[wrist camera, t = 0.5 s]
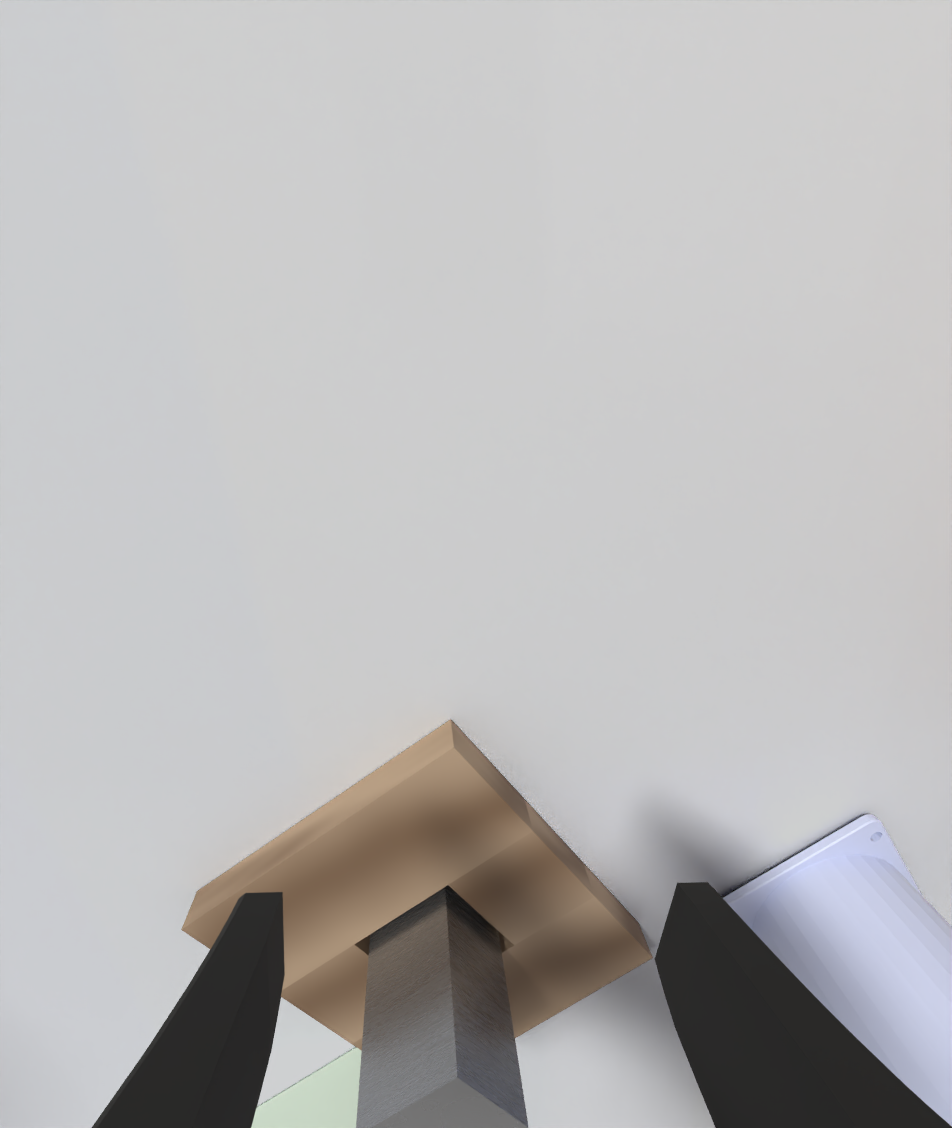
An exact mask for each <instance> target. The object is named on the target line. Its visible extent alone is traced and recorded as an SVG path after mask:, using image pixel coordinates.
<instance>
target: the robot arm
mask: <svg viewBox="0 0 952 1128" xmlns="http://www.w3.org/2000/svg"><path fill="white" fill-rule="evenodd" d="M655 961H656V965H657V968H658V972H659V975H660V979H661V982H662V986H663V990H664V993H665V996H666V1000H667V1003H668V1006H669V1009H670V1012H671V1016H672V1019H673V1022H674V1025H675V1028H676V1031H677V1033H678V1036H679V1038H680V1041H681V1043H682V1046H683V1048H684V1051H685V1053H686V1056H687V1058H688V1061H689V1063H690V1066H691V1068H692V1071H693V1073H694V1076H695V1078H696V1081H697V1083H698V1086H699V1088H700V1091H701V1093H702V1095H703V1098H704V1100H705V1103H706V1105H707V1108H708V1110H709V1113H710V1115H711V1117H712V1120H713V1122H714V1125H715V1127H716V1128H952V926H951V925H950V924H949V923H948V922H947V921H946V920H945V919H944V918H943V917H942V916H941V915H940V914H939V913H938V912H937V911H936V909H935V908H934V907H933V906H932V905H931V904H930V903H929V902H928V901H927V900H926V899H925V898H924V897H923V895H922V893H921V892H920V890H919V888H918V886H917V884H916V883H915V881H914V879H913V877H912V876H911V874H910V872H909V870H908V868H907V867H906V865H905V863H904V861H903V859H902V858H901V856H900V854H899V852H898V850H897V849H896V847H895V845H894V843H893V841H892V840H891V838H890V836H889V834H888V832H887V831H886V829H885V827H884V825H883V823H882V822H881V821H880V820H879V819H878V818H877V817H876V816H875V815H872V814H867V815H863V816H861V817H859V818H858V819H856V820H854V821H853V822H851V823H849V824H848V825H846V826H844V827H842V828H841V829H839V830H837V831H836V832H834V833H832V834H831V835H829V836H827V837H825V838H824V839H822V840H820V841H819V842H817V843H815V844H814V845H812V846H810V847H808V848H807V849H805V850H803V851H802V852H800V853H798V854H797V855H795V856H793V857H791V858H790V859H788V860H786V861H785V862H783V863H781V864H780V865H778V866H776V867H774V868H773V869H771V870H769V871H768V872H766V873H764V874H763V875H761V876H759V877H757V878H756V879H754V880H752V881H751V882H749V883H747V884H746V885H744V886H742V887H740V888H739V889H737V890H735V891H734V892H732V893H730V894H729V895H727V896H725V897H723V898H722V897H721V896H720V895H719V894H718V893H717V892H716V891H715V890H714V889H713V888H712V887H711V885H710V884H709V883H708V882H701V883H677V886H676V889H675V893H674V896H673V900H672V903H671V906H670V910H669V913H668V916H667V920H666V923H665V927H664V930H663V933H662V937H661V940H660V943H659V947H658V950H657V953H656V957H655ZM284 976H285V967H284V927H283V892H261V893H245V894H244V895H242V896H241V897H240V898H239V899H238V901H237V903H236V905H235V906H234V908H233V910H232V912H231V914H230V916H229V918H228V920H227V921H226V923H225V925H224V927H223V929H222V930H221V932H220V934H219V936H218V937H217V939H216V941H215V943H214V944H213V946H212V948H211V949H210V951H209V953H208V954H207V956H206V958H205V959H204V961H203V963H202V964H201V966H200V968H199V969H198V971H197V972H196V974H195V976H194V977H193V979H192V981H191V982H190V984H189V985H188V987H187V989H186V990H185V992H184V993H183V995H182V996H181V998H180V999H179V1001H178V1002H177V1004H176V1006H175V1007H174V1009H173V1010H172V1012H171V1013H170V1015H169V1016H168V1018H167V1019H166V1021H165V1022H164V1024H163V1026H162V1027H161V1029H160V1030H159V1032H158V1033H157V1035H156V1036H155V1038H154V1039H153V1041H152V1042H151V1044H150V1045H149V1047H148V1048H147V1050H146V1051H145V1053H144V1054H143V1056H142V1057H141V1059H140V1060H139V1061H138V1063H137V1064H136V1066H135V1067H134V1069H133V1070H132V1071H131V1073H130V1074H129V1076H128V1077H127V1078H126V1080H125V1081H124V1083H123V1084H122V1086H121V1087H120V1088H119V1090H118V1091H117V1093H116V1094H115V1095H114V1097H113V1098H112V1100H111V1101H110V1103H109V1104H108V1105H107V1107H106V1108H105V1110H104V1111H103V1112H102V1114H101V1115H100V1117H99V1118H98V1120H97V1121H96V1122H95V1124H94V1125H93V1127H92V1128H251V1127H252V1123H253V1119H254V1115H255V1111H256V1108H257V1104H258V1100H259V1096H260V1092H261V1088H262V1084H263V1081H264V1077H265V1073H266V1069H267V1065H268V1061H269V1057H270V1053H271V1049H272V1044H273V1038H274V1033H275V1027H276V1022H277V1016H278V1010H279V1005H280V999H281V993H282V987H283V982H284Z"/></svg>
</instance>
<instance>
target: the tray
mask: <svg viewBox="0 0 952 1128" xmlns="http://www.w3.org/2000/svg"><path fill="white" fill-rule="evenodd" d="M361 1052H362V1051H361V1050H360V1049H358V1048H357V1047H356V1048H354V1049H353V1050H351V1051H349V1052H348V1053H346V1054H344V1055H343V1056H341V1057H339V1058H338V1059H336V1060H334V1061H333V1062H331V1063H329V1064H328V1065H326V1066H325V1067H323V1068H321V1069H320V1070H318V1071H316V1072H315V1073H313V1074H311V1075H310V1076H308V1077H306V1078H305V1079H303V1080H301V1081H300V1082H298V1083H296V1084H295V1085H293V1086H292V1087H290V1088H288V1089H287V1090H285V1091H283V1092H282V1093H280V1094H278V1095H277V1096H275V1097H273V1098H272V1099H270V1100H268V1101H267V1102H265V1103H263V1104H262V1105H260V1106H259V1107H257V1108H256V1111H255V1115H254V1119H253V1123H252V1127H251V1128H356V1120H357V1107H358V1093H359V1079H360V1066H361Z"/></svg>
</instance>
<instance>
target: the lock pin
mask: <svg viewBox="0 0 952 1128" xmlns="http://www.w3.org/2000/svg"><path fill="white" fill-rule="evenodd" d="M356 1128H528V1121H527V1115H526V1108H525V1102H524V1095H523V1089H522V1082H521V1076H520V1069H519V1063H518V1056H517V1050H516V1043H515V1037H514V1030H513V1024H512V1017H511V1010H510V1004H509V997H508V991H507V984H506V978H505V971H504V965H503V958H502V952H501V945H500V939H499V932H498V930H497V929H496V928H495V927H494V926H493V925H492V924H490V923H489V922H488V921H487V920H486V919H485V918H484V917H483V916H482V915H481V914H479V913H478V912H477V911H476V910H475V909H474V908H473V907H472V906H471V905H469V904H468V903H467V902H466V901H465V900H464V899H463V898H462V897H461V896H460V895H458V894H457V893H456V892H455V891H454V890H453V889H452V888H451V887H450V886H449V885H447V886H446V887H444V888H443V889H441V890H439V891H438V892H436V893H435V894H433V895H432V896H430V897H428V898H427V899H425V900H424V901H422V902H420V903H419V904H417V905H416V906H414V907H413V908H411V909H409V910H408V911H406V912H405V913H403V914H402V915H400V916H398V917H397V918H395V919H394V920H392V921H391V922H389V923H387V924H386V925H384V926H383V927H381V928H380V929H378V930H376V931H375V932H373V933H372V934H370V943H369V956H368V970H367V984H366V997H365V1011H364V1025H363V1038H362V1052H361V1066H360V1079H359V1093H358V1107H357V1120H356Z"/></svg>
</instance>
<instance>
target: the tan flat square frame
mask: <svg viewBox="0 0 952 1128" xmlns="http://www.w3.org/2000/svg"><path fill="white" fill-rule="evenodd" d="M447 885H449V886H450V887H451V888H452V889H453V890H454V891H455V892H456V893H457V894H458V895H460V896H461V897H462V898H463V899H464V900H465V901H466V902H467V903H468V904H469V905H471V906H472V907H473V908H474V909H475V910H476V911H477V912H478V913H479V914H481V915H482V916H483V917H484V918H485V919H486V920H487V921H488V922H489V923H490V924H492V925H493V926H494V927H495V928H496V929H497V930H498V932H499V939H500V945H501V952H502V958H503V965H504V971H505V978H506V984H507V991H508V997H509V1004H510V1010H511V1017H512V1024H513V1030H514V1037H515V1038H516V1037H518V1036H520V1035H521V1034H523V1033H525V1032H527V1031H528V1030H530V1029H532V1028H533V1027H535V1026H537V1025H539V1024H540V1023H542V1022H544V1021H545V1020H547V1019H549V1018H551V1017H552V1016H554V1015H556V1014H557V1013H559V1012H561V1011H563V1010H564V1009H566V1008H568V1007H569V1006H571V1005H573V1004H575V1003H576V1002H578V1001H580V1000H581V999H583V998H585V997H587V996H588V995H590V994H592V993H593V992H595V991H597V990H599V989H600V988H602V987H604V986H605V985H607V984H609V983H611V982H612V981H614V980H616V979H617V978H619V977H621V976H623V975H624V974H626V973H628V972H629V971H631V970H633V969H635V968H636V967H638V966H640V965H641V964H643V963H645V962H647V961H648V960H650V959H652V958H653V957H652V955H651V952H650V950H649V947H648V945H647V942H646V940H645V938H644V935H643V933H642V930H641V928H640V925H639V923H638V922H637V921H636V920H635V919H634V918H633V917H632V915H631V914H630V913H629V912H628V911H627V910H626V909H625V908H624V907H623V906H622V905H621V904H620V902H619V901H618V900H617V899H616V898H615V897H614V896H613V895H612V894H611V893H610V892H609V891H608V889H607V888H606V887H605V886H604V885H603V884H602V883H601V882H600V881H599V880H598V879H597V878H596V876H595V875H594V874H593V873H592V872H591V871H590V870H589V869H588V868H587V867H586V866H585V865H584V863H583V862H582V861H581V860H580V859H579V858H578V857H577V856H576V855H575V854H574V853H573V851H572V850H571V849H570V848H569V847H568V846H567V845H566V844H565V843H564V842H563V841H562V840H561V838H560V837H559V836H558V835H557V834H556V833H555V832H554V831H553V830H552V829H551V828H550V827H549V825H548V824H547V823H546V822H545V821H544V820H543V819H542V818H541V817H540V816H539V815H538V814H537V812H536V811H535V810H534V809H533V808H532V807H531V806H530V805H529V804H528V803H527V802H526V801H525V799H524V798H523V797H522V796H521V795H520V794H519V793H518V792H517V791H516V790H515V789H514V787H513V786H512V785H511V784H510V783H509V782H508V781H507V780H506V779H505V778H504V777H503V776H502V774H501V773H500V772H499V771H498V770H497V769H496V768H495V767H494V766H493V765H492V764H491V763H490V761H489V760H488V759H487V758H486V757H485V756H484V755H483V754H482V753H481V752H480V751H479V750H478V748H477V747H476V746H475V745H474V744H473V743H472V742H471V741H470V740H469V739H468V738H467V737H466V735H465V734H464V733H463V732H462V731H461V730H460V729H459V728H458V727H457V726H456V725H455V724H454V722H453V721H452V720H449V721H448V722H446V723H445V724H443V725H442V726H440V727H439V728H437V729H436V730H434V731H433V732H431V733H430V734H429V735H427V736H426V737H424V738H423V739H421V740H420V741H418V742H417V743H415V744H414V745H412V746H411V747H409V748H408V749H406V750H405V751H403V752H402V753H400V754H399V755H398V756H396V757H395V758H393V759H392V760H390V761H389V762H387V763H386V764H384V765H383V766H381V767H380V768H378V769H377V770H375V771H374V772H372V773H371V774H369V775H368V776H367V777H365V778H364V779H362V780H361V781H359V782H358V783H356V784H355V785H353V786H352V787H350V788H349V789H347V790H346V791H344V792H343V793H341V794H340V795H338V796H337V797H336V798H334V799H333V800H331V801H330V802H328V803H327V804H325V805H324V806H322V807H321V808H319V809H318V810H316V811H315V812H313V813H312V814H310V815H309V816H308V817H306V818H305V819H303V820H302V821H300V822H299V823H297V824H296V825H294V826H293V827H291V828H290V829H288V830H287V831H285V832H284V833H282V834H281V835H279V836H278V837H277V838H275V839H274V840H272V841H271V842H269V843H268V844H266V845H265V846H263V847H262V848H260V849H259V850H257V851H256V852H254V853H253V854H251V855H250V856H248V857H247V858H246V859H244V860H243V861H241V862H240V863H238V864H237V865H235V866H234V867H232V868H231V869H229V870H228V871H226V872H225V873H223V874H222V875H220V876H219V877H217V878H216V879H215V880H213V881H212V882H210V883H209V884H207V885H206V886H204V887H203V888H201V889H200V890H198V891H197V893H196V895H195V898H194V900H193V903H192V905H191V907H190V910H189V912H188V915H187V917H186V920H185V922H184V925H183V927H182V929H181V930H183V931H184V932H186V933H187V934H189V935H190V936H192V937H193V938H194V939H196V940H197V941H199V942H200V943H202V944H203V945H205V946H206V947H208V948H209V949H211V948H212V946H213V944H214V943H215V941H216V939H217V937H218V936H219V934H220V932H221V930H222V929H223V927H224V925H225V923H226V921H227V920H228V918H229V916H230V914H231V912H232V910H233V908H234V906H235V905H236V903H237V901H238V899H239V898H240V897H241V896H242V895H244V894H245V893H261V892H283V927H284V967H285V976H284V982H283V987H282V993H281V997H282V998H284V999H285V1000H287V1001H288V1002H290V1003H291V1004H293V1005H294V1006H296V1007H297V1008H299V1009H300V1010H302V1011H303V1012H305V1013H306V1014H308V1015H309V1016H311V1017H312V1018H314V1019H315V1020H317V1021H318V1022H320V1023H321V1024H323V1025H324V1026H326V1027H327V1028H329V1029H330V1030H332V1031H333V1032H335V1033H336V1034H338V1035H339V1036H341V1037H342V1038H344V1039H345V1040H347V1041H348V1042H350V1043H351V1044H353V1045H354V1046H355V1047H357V1048H358V1049H360V1050H361V1051H362V1038H363V1025H364V1011H365V997H366V984H367V970H368V956H369V943H370V934H372V933H373V932H375V931H376V930H378V929H380V928H381V927H383V926H384V925H386V924H387V923H389V922H391V921H392V920H394V919H395V918H397V917H398V916H400V915H402V914H403V913H405V912H406V911H408V910H409V909H411V908H413V907H414V906H416V905H417V904H419V903H420V902H422V901H424V900H425V899H427V898H428V897H430V896H432V895H433V894H435V893H436V892H438V891H439V890H441V889H443V888H444V887H446V886H447Z"/></svg>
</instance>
